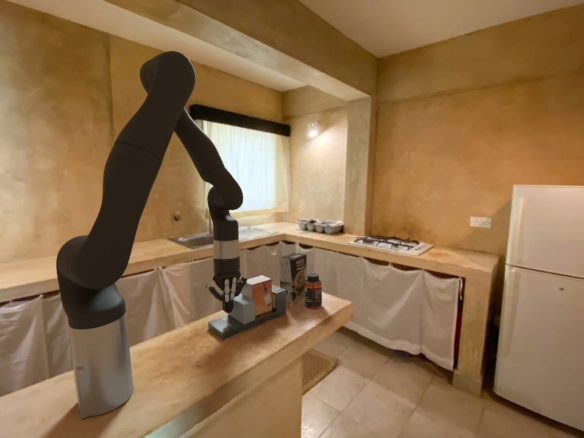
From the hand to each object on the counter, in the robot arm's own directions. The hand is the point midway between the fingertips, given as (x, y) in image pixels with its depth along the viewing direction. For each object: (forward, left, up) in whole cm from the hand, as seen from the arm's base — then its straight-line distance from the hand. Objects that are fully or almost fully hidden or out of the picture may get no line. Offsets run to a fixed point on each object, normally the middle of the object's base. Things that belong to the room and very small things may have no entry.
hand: (228, 311), depth 83 cm
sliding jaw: (+4, 0, -3) cm, 5 cm away
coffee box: (+29, +3, -5) cm, 30 cm away
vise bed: (+6, 0, -5) cm, 8 cm away
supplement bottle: (+29, -7, -5) cm, 30 cm away
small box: (+10, 0, -3) cm, 11 cm away
